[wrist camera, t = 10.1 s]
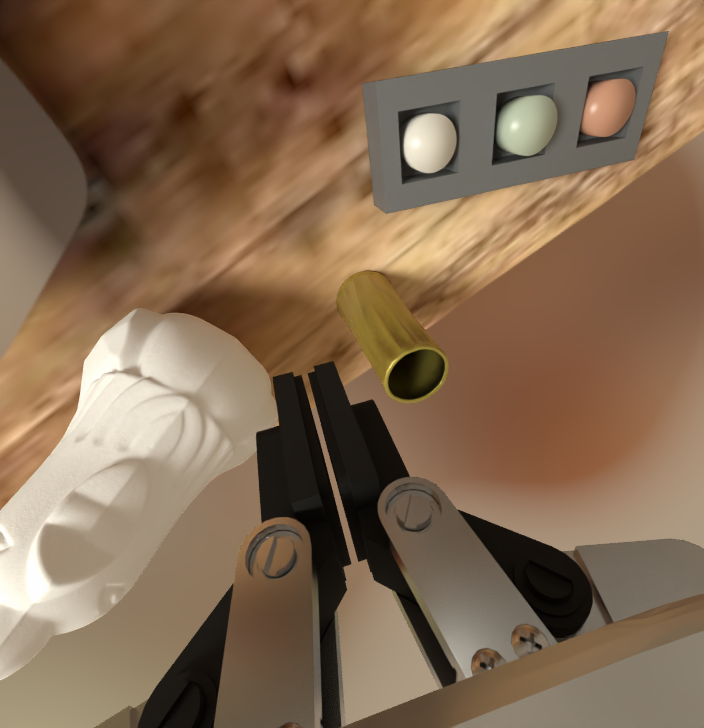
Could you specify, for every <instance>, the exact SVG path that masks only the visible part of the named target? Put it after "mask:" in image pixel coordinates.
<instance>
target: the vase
mask: <svg viewBox="0 0 704 728" xmlns="http://www.w3.org/2000/svg"><path fill="white" fill-rule="evenodd" d="M337 308H338V311H339V314H340V315H341V317H342V318H343V319H344V320H345V321H346V323H347V325H348V326H349V328H350V330H351V331H352V333H353V334H354V336H355V337H356V339H357V341H358V343H359V344H360V346H361V348H362V350H363V351H364V353H365V355H366V356H367V358H368V360H369V361H370V363H371V365H372V367H373V369H374V370H375V372H376V373H377V375H378V377H379V379H380V381H381V383H382V385H383V387H384V389H385V390H386V392H387V394H388V396H389V397H391V398H392V399H394V400H396V401H398V402H402V403H415V402H420V401H422V400H425V399H427V398H429V397H430V396H432V395H433V394H434V393H435V392H437V391H438V390H439V389H440V388H441V386H442V385H443V383H444V382H445V380H446V377H447V374H448V370H449V363H448V359H447V356H446V354H445V353H444V351H443V350H442V349H441V348H440V347H439V345H438V344H437V343H436V342H435V341H434V340H433V339H432V338H431V336H430V335H429V334H428V333H427V332H426V330H425V329H424V328H423V327H422V326H421V325H420V324H419V322H418V321H417V320H416V319H415V317H414V316H413V315H412V314H411V312H410V311H409V310H408V308H407V307H406V305H405V304H404V302H403V301H402V299H401V298H400V297H399V295H398V294H397V292H396V291H395V290H394V289H393V287H392V286H391V284H390V282H389V280H388V279H387V278H386V277H385V276H383V275H382V274H380V273H377V272H372V271H363V272H359V273H356V274H354V275H352V276H351V277H349V278H348V279H347V280H346V281H345V282H344V283H343V285H342V286H341V288H340V290H339V292H338V296H337Z"/></svg>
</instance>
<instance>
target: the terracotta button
mask: <svg viewBox="0 0 704 728" xmlns="http://www.w3.org/2000/svg"><path fill="white" fill-rule="evenodd" d="M635 98H636V93H635V88H634V85H633V84H632V82H631V81H629V80H627V79H609V80H595V81H592V82H590V83H588V87H587V92H586V97H585V103H584V108H583V113H582V119H581V124H580V130H579V135H587V136H598V137H608V136H611V135H613V134H615V133H616V132H617V131H619V130H620V129H621V128H622V127H623V126H624V124H625V123H626V122H627V120H628V119H629V117H630V115H631V113H632V110H633V108H634V104H635Z"/></svg>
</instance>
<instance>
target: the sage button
mask: <svg viewBox="0 0 704 728" xmlns="http://www.w3.org/2000/svg"><path fill="white" fill-rule="evenodd" d="M556 125H557V109H556V106H555V104H554V102H553V101H552V99H550V98H549V97H547V96H543V95H533V96H516V97H513V98H511V99H509V100H508V101H506V102H505V103H504V104H503V105H502V107H501V108H500V109H499V111H498V113H497V114H496V117H495V127H494V143H495V145H496V146H497V148H498V149H499V150H501V151H503V152H506V153H512V154H517V155H523V156H531V155H534V154H536V153H538V152H539V151H541V150H542V149H543V148H544V147H545V146H546V145H547V144H548V142H549V141H550V140H551V138H552V136H553V134H554V131H555V129H556Z"/></svg>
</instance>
